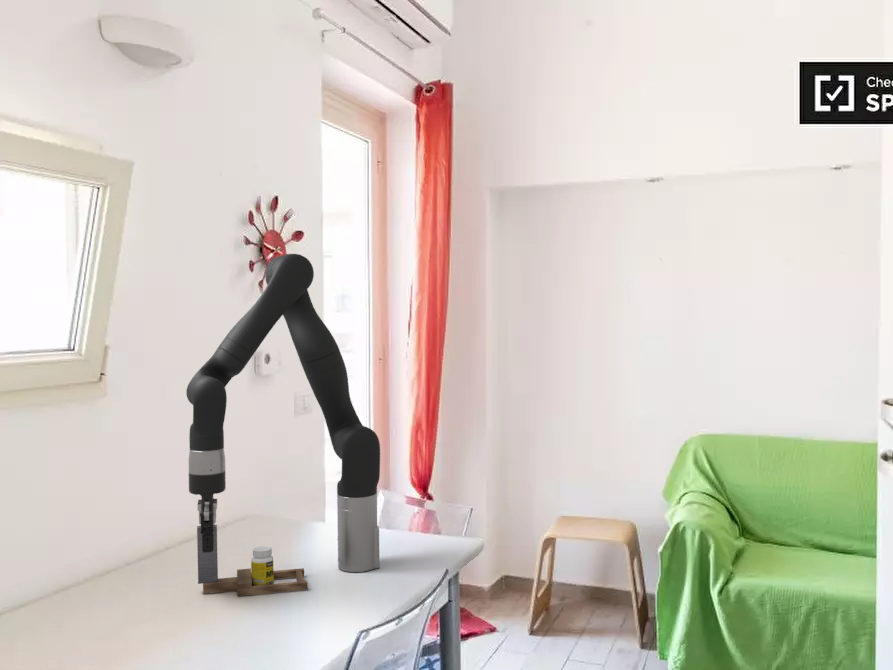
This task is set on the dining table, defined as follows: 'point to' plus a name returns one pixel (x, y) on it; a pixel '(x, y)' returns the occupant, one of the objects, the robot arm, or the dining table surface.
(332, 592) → the dining table surface
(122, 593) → the dining table surface
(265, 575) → the supplement bottle
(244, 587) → the strip frame
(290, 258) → the robot arm
